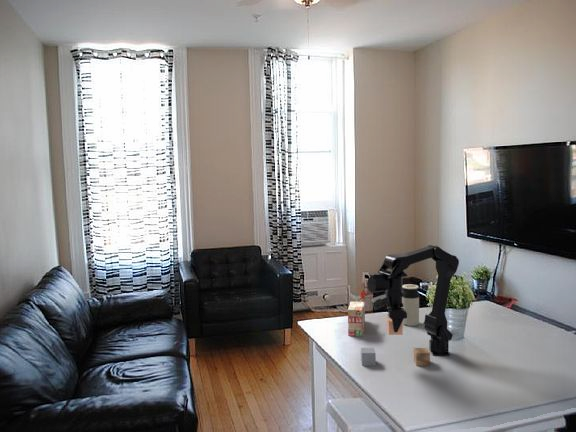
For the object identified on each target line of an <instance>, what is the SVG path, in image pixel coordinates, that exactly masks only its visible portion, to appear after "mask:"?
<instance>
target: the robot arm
mask: <svg viewBox="0 0 576 432" xmlns="http://www.w3.org/2000/svg"><path fill="white" fill-rule="evenodd" d="M428 259H432V260H433V261H434V262H435V270H436V273H437V279H436V286H435V291H434V296H433V297H434V298H433V303H432V307H431V311H430V312H429V313H428V314H427V313H426V314H425V316H424V322H423V323H422V324H423V325H424V330H425V331H426V333H427V336H430V339H429V341H428V344H429V345H428V346H429V348H428V350H429V352H430V354H432V356H450V352H449V341H452V340H453V336H454V334H453V333H452V332H451V331H450V330H449V329H448V320H447V317H446V308H447V304H448V298H449V291H450V287H451V280H452V278H453V276H454V275H456V273H457V270H458V267H459V265H460V259H459V258H458V257H457V256H456V255H453V254H450V253H449V252H447V251H446V250H443V249H442V248H441V247H439V246H438V245H434V244H428V245H427V246H424V247H422V248H418V249H415V250H413V251H408V252H406V253H394V254H387V255H386V256H385V258H384V260H383V262H382V264H381V266H380V268H379V269H378V271H377V272H376V273H370V275H369V276H370V277H369V278H367V282H366V286H367V289H368V291H369V292H370V293H372V294H373V293H380V292H384V294H381V295H378V296H376V297H373V298H371V299H370V301H371V303H372V305H373V309H374V310H375V311H376V310H379V309H381V308H383V307H384V310H385V311H387V313H388V314H387V316H388V317H389V318H391V319H392V323H393V328H394V332H398V330H399V327H400V325H401V323H402V321H403V320H404V319H406V318H407V312H406V310H405V309H404V308H402V307H403V303H402V296H403V292H402V291H403V287H402V286H403V278H405V277H408V274H407V273H406V272H405V271H406V270H407V269H408V268H409V267H410V266H411V265H414V264H416V263H420V262H422V261H426V260H428Z"/></svg>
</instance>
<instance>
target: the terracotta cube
mask: <svg viewBox="0 0 576 432" xmlns="http://www.w3.org/2000/svg"><path fill="white" fill-rule="evenodd" d="M386 331H387V334H388V335H389V336H392V335H393V336H394V335H395V336H396V335H398V336H399V335H400V336H402V335H404V334H403V324H402V323H401V325H400V327H399V330H398V332H394V328H393V323H392V319H391V318H389V316H388V317H386Z"/></svg>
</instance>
